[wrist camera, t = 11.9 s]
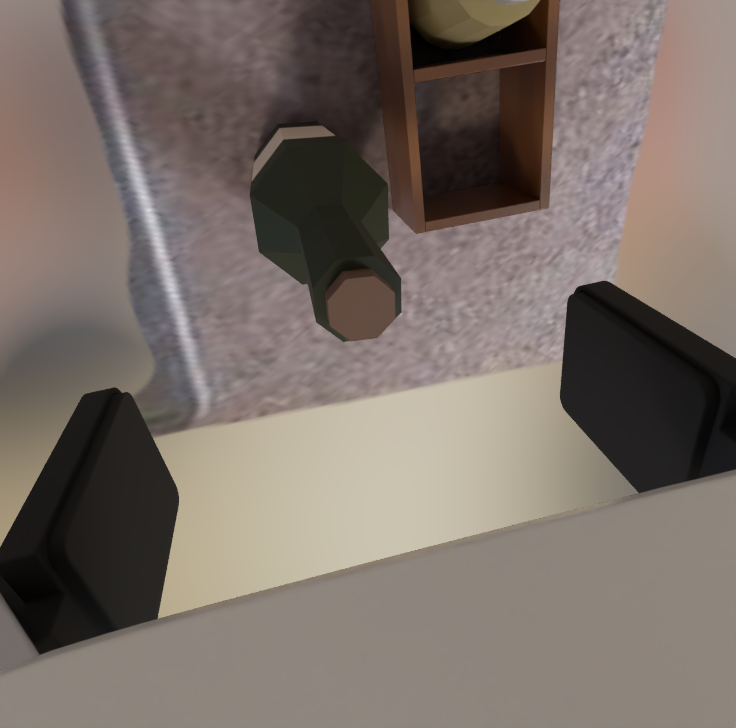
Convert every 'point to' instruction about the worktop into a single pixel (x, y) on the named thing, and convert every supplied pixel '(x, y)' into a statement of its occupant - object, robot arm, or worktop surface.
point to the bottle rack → (517, 118)
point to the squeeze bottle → (464, 19)
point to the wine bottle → (327, 227)
